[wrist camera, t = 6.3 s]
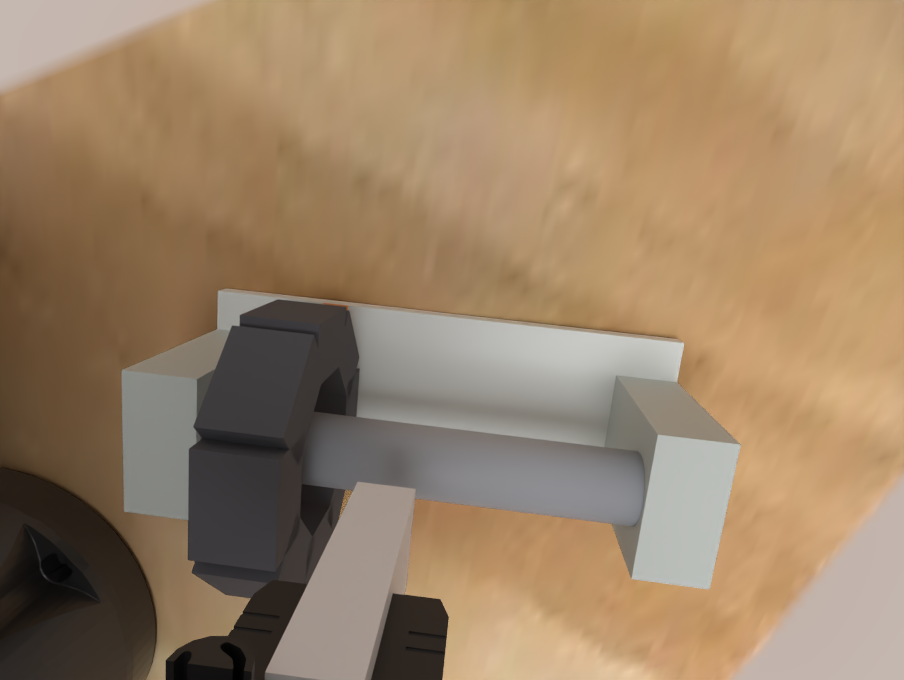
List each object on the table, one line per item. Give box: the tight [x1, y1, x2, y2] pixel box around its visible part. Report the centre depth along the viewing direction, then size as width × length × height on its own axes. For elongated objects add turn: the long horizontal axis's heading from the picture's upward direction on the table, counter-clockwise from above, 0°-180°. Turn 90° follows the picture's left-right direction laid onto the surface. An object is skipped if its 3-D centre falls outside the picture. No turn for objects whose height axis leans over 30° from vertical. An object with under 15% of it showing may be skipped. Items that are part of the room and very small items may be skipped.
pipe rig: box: [121, 288, 741, 589], centre depth 23 cm, size 19×8×7 cm, turn 84°
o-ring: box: [188, 299, 360, 598], centre depth 21 cm, size 2×9×9 cm, turn 174°
